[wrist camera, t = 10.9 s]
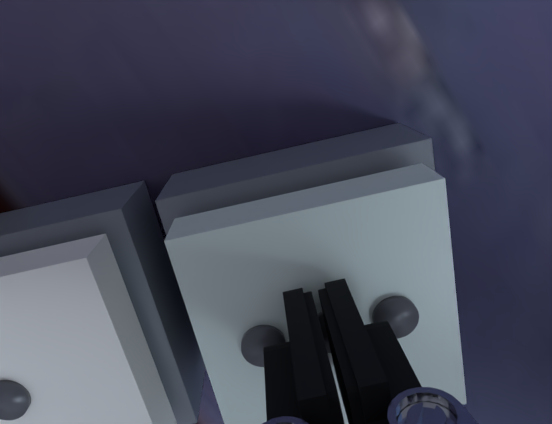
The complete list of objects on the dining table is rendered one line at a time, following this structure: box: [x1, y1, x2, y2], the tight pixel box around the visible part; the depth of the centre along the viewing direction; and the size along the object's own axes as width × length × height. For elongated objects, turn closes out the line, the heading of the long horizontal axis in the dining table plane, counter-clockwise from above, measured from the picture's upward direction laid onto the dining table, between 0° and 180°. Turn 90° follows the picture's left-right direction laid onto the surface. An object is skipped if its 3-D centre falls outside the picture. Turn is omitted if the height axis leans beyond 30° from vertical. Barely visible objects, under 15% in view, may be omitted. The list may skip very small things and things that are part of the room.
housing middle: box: [0, 181, 206, 424], centre depth 16 cm, size 8×8×3 cm
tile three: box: [164, 163, 467, 424], centre depth 14 cm, size 7×7×5 cm
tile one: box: [0, 234, 177, 424], centre depth 15 cm, size 7×7×5 cm
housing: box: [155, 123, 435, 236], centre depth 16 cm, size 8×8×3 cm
